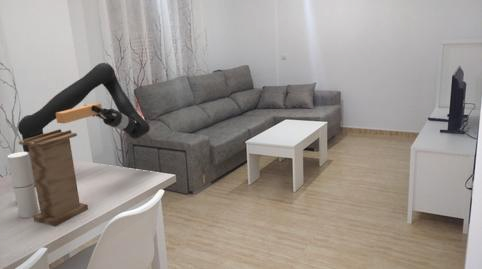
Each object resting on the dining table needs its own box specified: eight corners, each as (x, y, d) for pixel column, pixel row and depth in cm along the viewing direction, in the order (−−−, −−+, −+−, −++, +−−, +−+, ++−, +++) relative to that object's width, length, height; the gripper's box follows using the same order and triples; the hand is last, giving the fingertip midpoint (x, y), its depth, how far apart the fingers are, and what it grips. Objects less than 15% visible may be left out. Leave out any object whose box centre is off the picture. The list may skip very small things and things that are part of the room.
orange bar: (57, 122, 160) (55, 112, 159) (95, 112, 177) (94, 103, 176) (64, 123, 158) (62, 113, 157) (102, 112, 175) (101, 103, 174)
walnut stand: (34, 221, 158) (18, 139, 150) (67, 204, 172) (54, 128, 163) (55, 226, 153) (40, 141, 144) (88, 209, 167) (76, 130, 158)
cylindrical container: (25, 219, 160) (13, 158, 154) (15, 215, 164) (3, 156, 157) (42, 211, 166) (31, 153, 160) (32, 208, 170) (21, 151, 163)
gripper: (106, 110, 189) (78, 98, 174) (130, 112, 183) (103, 99, 168) (102, 126, 188) (73, 114, 173) (126, 128, 182) (98, 116, 167)
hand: (88, 107), depth 171 cm, fingers closed on orange bar, 4 cm apart
